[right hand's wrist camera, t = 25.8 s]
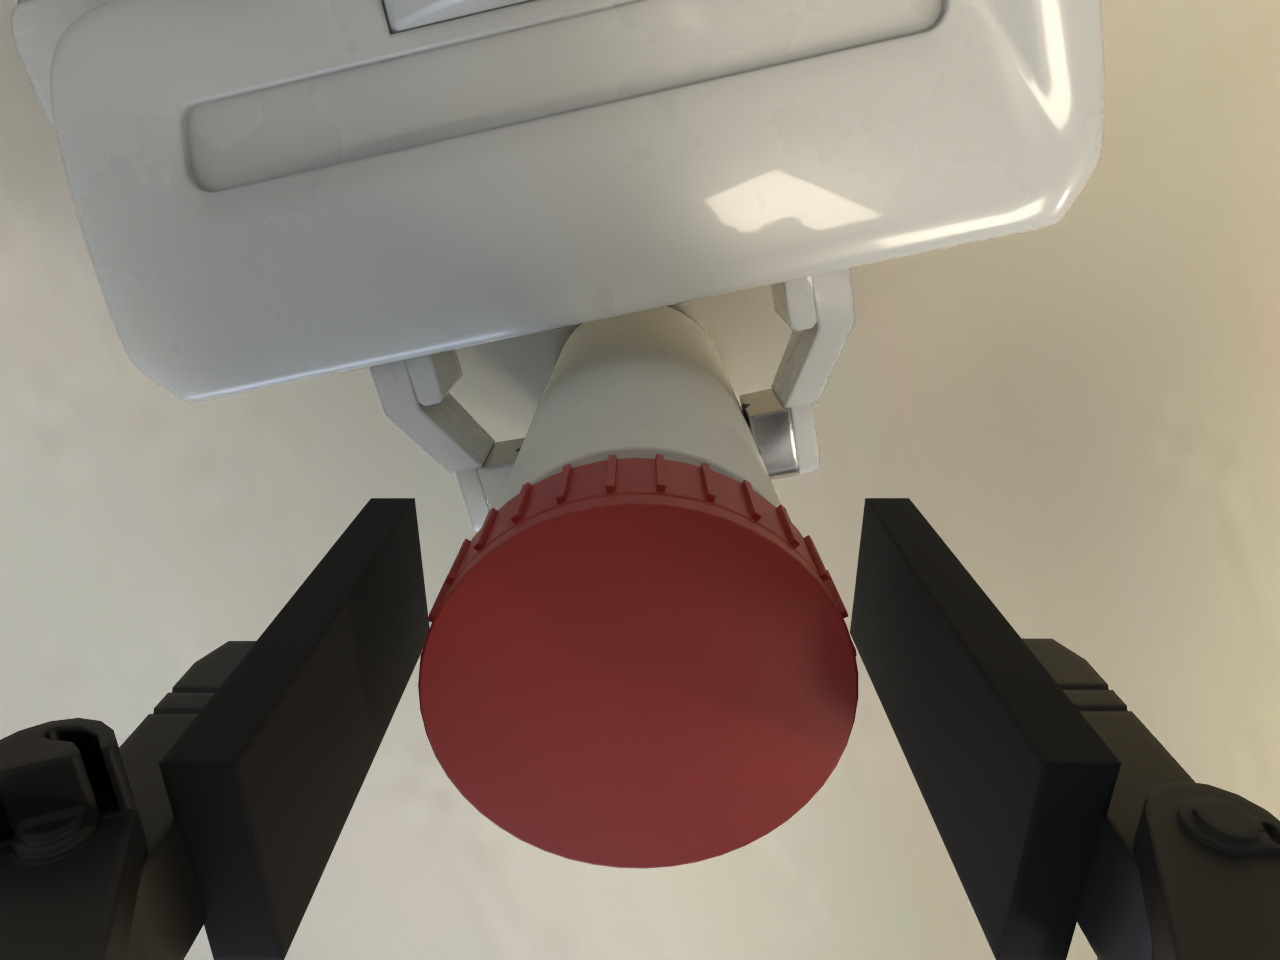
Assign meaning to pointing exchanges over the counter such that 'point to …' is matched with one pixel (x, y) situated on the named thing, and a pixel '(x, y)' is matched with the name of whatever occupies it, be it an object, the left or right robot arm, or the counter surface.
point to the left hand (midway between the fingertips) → (648, 494)
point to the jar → (639, 403)
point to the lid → (638, 665)
